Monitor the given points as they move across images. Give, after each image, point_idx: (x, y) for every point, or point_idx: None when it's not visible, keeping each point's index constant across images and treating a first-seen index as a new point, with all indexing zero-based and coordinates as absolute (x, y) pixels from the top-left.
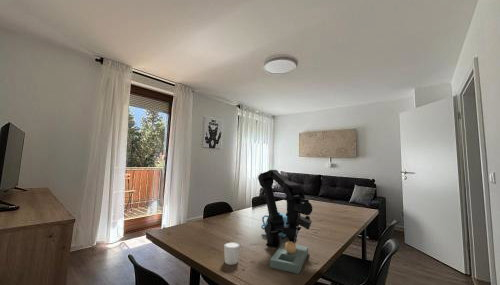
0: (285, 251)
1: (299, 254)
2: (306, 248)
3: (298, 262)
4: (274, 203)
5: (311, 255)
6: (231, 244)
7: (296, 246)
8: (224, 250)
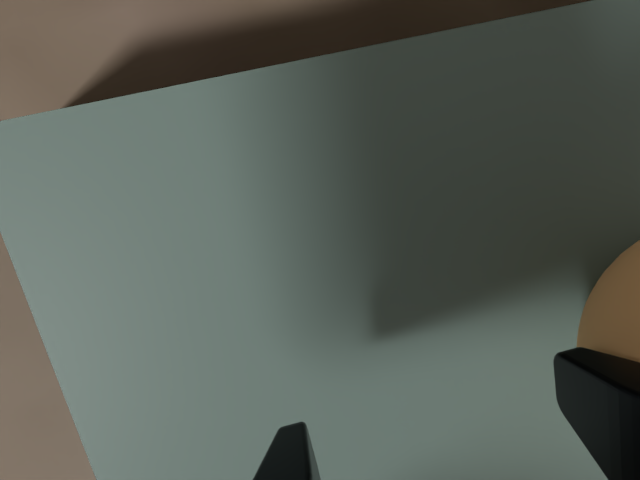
0: None
1: (619, 110)
2: (116, 118)
3: None
4: None
5: (88, 19)
6: None
7: (182, 380)
8: None
